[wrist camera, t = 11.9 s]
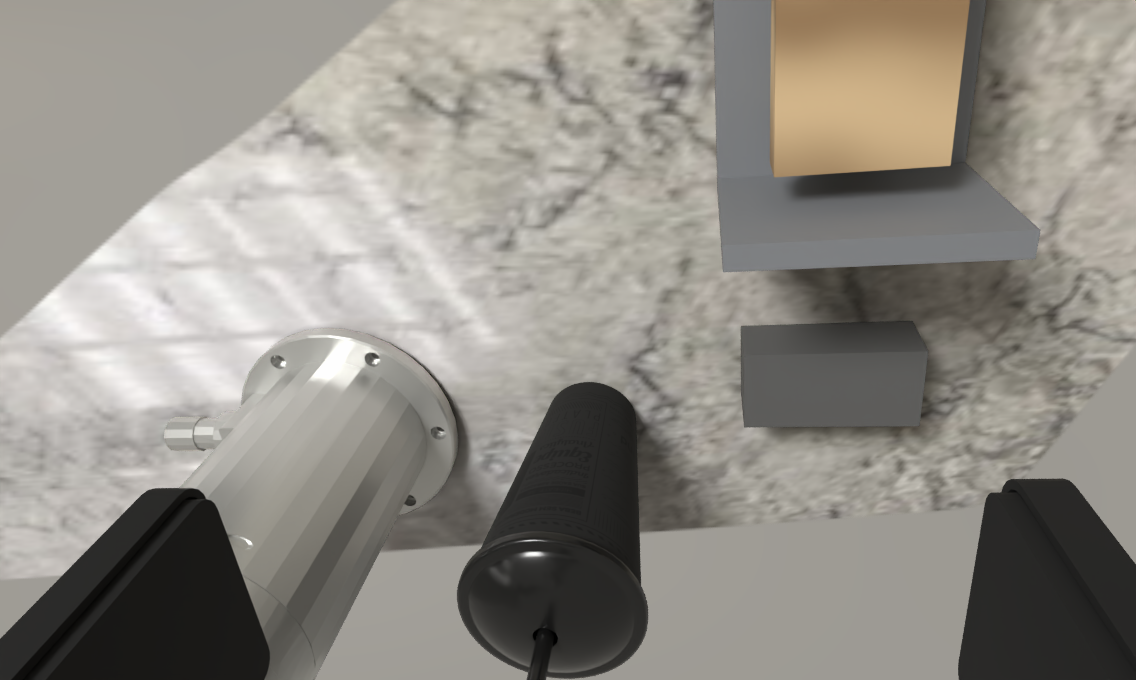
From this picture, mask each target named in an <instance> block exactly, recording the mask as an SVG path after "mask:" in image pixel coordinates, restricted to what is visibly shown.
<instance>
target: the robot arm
mask: <svg viewBox="0 0 1136 680" xmlns="http://www.w3.org/2000/svg"><path fill="white" fill-rule="evenodd" d="M164 439H165V442H166V445H167V446H168V447H169V448H170V449H171V450H174V451H204V450H206V449H215V450H214V451H213V452H212V453H211V454H210V455H209V456H208V457H207V458H206V459H205V460H204V461H203V463H202V464H201V465H200V466H199V467H198V468H197V469H196V470H195V471H194V472H193V473H192V474H191V476H190V477H189V478H188V479H187V480H186V481H185V482H184V483H183V484H182V485H181V486H180V487H179V488H155V489H151V490H148V491H146V492H145V493H144V494H142V495H141V496H140V497H139V498H138V499H137V500H136V501H135V502H134V503H133V504H132V505H131V506H130V507H129V508H128V509H127V510H126V511H125V512H124V513H123V514H122V515H121V516H120V518H119V519H118V520H117V521H116V522H115V523H114V524H113V525H112V526H111V527H110V528H109V529H108V530H107V531H106V532H105V533H104V534H103V535H102V536H101V537H100V538H99V539H98V540H97V541H96V542H95V543H94V544H93V545H92V546H91V547H90V548H89V549H88V550H87V551H86V552H85V553H84V554H83V555H82V556H81V557H80V558H79V559H78V560H77V561H76V562H75V563H74V564H73V565H72V566H71V567H70V568H69V569H68V570H67V571H66V572H65V573H64V575H63V576H62V577H61V578H60V579H59V580H58V581H57V582H56V583H55V584H54V585H53V586H52V587H51V588H50V589H49V590H48V591H47V592H46V593H45V594H44V595H43V596H42V597H41V598H40V599H39V600H38V601H37V602H36V603H35V604H34V605H33V606H32V607H31V608H30V609H29V610H28V611H27V612H26V613H25V614H24V615H23V616H22V617H21V618H20V619H19V620H18V621H17V622H16V623H15V624H14V625H13V626H12V628H11V629H10V630H8V632H7V633H6V634H5V635H4V636H3V637H2V638H1V639H0V680H315V677H316V676H317V674H318V672H319V670H320V668H321V666H322V664H323V662H324V660H325V658H326V656H327V654H328V652H329V650H330V648H331V646H332V644H333V642H334V640H335V638H336V637H337V635H338V633H339V631H340V629H341V627H342V625H343V623H344V621H345V619H346V617H347V615H348V613H349V611H350V609H351V607H352V605H353V603H354V601H355V599H356V597H357V595H358V593H359V591H360V589H361V587H362V585H363V584H364V582H365V580H366V578H367V576H368V574H369V572H370V570H371V568H372V566H373V563H374V562H375V560H376V558H377V556H378V554H379V552H380V550H381V548H382V546H383V544H384V542H385V540H386V538H387V536H388V534H389V532H390V531H391V529H392V527H393V525H394V523H395V521H396V519H397V517H398V515H402V514H406V513H409V512H411V511H413V510H415V509H417V508H419V507H422V506H423V505H424V504H426V503H427V502H428V501H430V500H431V499H432V498H433V497H435V495H436V494H437V493H438V492H439V491H440V489H441V488H442V487H443V486H444V484H445V482H446V480H447V478H448V476H449V474H450V472H451V470H452V468H453V465H454V462H455V458H456V455H457V446H458V433H457V427H456V420H455V417H454V415H453V412H452V409H451V407H450V404H449V401H448V400H447V398H446V397H445V395H444V393H443V392H442V390H441V388H440V387H439V385H438V384H437V383H436V381H435V380H434V379H433V378H432V377H431V376H430V375H429V373H428V372H427V371H426V370H425V369H424V368H423V367H422V366H421V365H420V364H418V363H417V362H416V361H415V360H414V359H412V358H411V357H410V356H409V355H408V354H406V353H404V352H403V351H401V350H399V349H398V348H396V347H394V346H393V345H391V344H389V343H388V342H385V341H383V340H380V339H378V338H375V337H373V336H370V335H368V334H364V333H360V332H356V331H351V330H347V329H334V328H320V329H312V330H305V331H302V332H299V333H296V334H293V335H290V336H287V337H286V338H284V339H282V340H281V341H279V342H278V343H276V344H274V345H273V346H272V347H271V348H270V349H269V350H268V351H267V352H266V353H264V354H263V355H262V356H261V357H260V358H259V359H258V361H257V362H256V363H255V365H254V366H253V367H252V369H251V370H250V371H249V374H248V376H247V379H246V381H245V384H244V386H243V392H242V400H241V407H240V408H239V409H238V410H237V411H225V412H223V413H222V414H220V415H219V417H218V418H207V417H174V418H172V419H171V420H170V421H169V422H168V423H167V426H166V428H165V435H164ZM958 675H959V680H1136V564H1135V563H1134V562H1133V560H1132V559H1131V558H1130V557H1129V555H1128V554H1127V553H1126V551H1125V550H1124V549H1123V547H1122V546H1121V545H1120V544H1119V542H1118V541H1117V540H1116V538H1115V537H1114V536H1113V534H1112V533H1111V532H1110V530H1109V529H1108V528H1107V527H1106V525H1105V524H1104V523H1103V521H1102V520H1101V519H1100V517H1099V516H1098V515H1097V514H1096V512H1095V511H1094V510H1093V508H1092V507H1091V506H1090V504H1089V503H1088V502H1087V501H1086V499H1085V498H1084V497H1083V495H1082V494H1081V493H1080V491H1079V490H1078V489H1077V488H1076V486H1075V485H1074V484H1073V483H1072V482H1070V481H1069V480H1066V479H1011V480H1008V481H1007V482H1006V483H1005V485H1004V486H1003V489H1002V493H990V494H989V495H988V497H987V498H986V502H985V507H984V513H983V519H982V525H981V531H980V538H979V543H978V549H977V555H976V561H975V567H974V573H973V579H972V585H971V591H970V597H969V603H968V609H967V615H966V621H965V627H964V633H963V639H962V645H961V651H960V657H959V665H958Z"/></svg>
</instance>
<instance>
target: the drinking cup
mask: <svg viewBox="0 0 1136 680" xmlns="http://www.w3.org/2000/svg"><path fill="white" fill-rule="evenodd" d="M457 602H458V608H459V612H460V615H461V618H462V620H463V622H464V624H465V626H466V628H467V629H468V631H469V632H470V634H471V635H472V636H473V637H474V639H475V640H476V641H477V642H478V643H479V644H480V645H481V646H482V647H483V648H484V649H486V650H487V651H488V652H489V653H491V654H492V655H493V656H495V657H496V658H498V659H500V660H501V661H503V662H505V663H507V664H508V665H511V666H513V667H515V668H517V669H520V670H523V671H525V672H528V677H527V680H546V677H552V678H564V679H567V678H568V679H572V678H585V677H590V676H595V675H599V674H602V673H605V672H608V671H610V670H612V669H614V668H616V667H618V666H620V665H621V664H623V663H624V662H625V661H627V660H628V659H629V658H630V657H631V656H632V655H633V654H634V653H635V652H636V651H637V649H638V648H639V646H640V645H641V643H642V641H643V639H644V637H645V634H646V631H647V624H648V606H647V600H646V597H645V594H644V592H643V589H642V587H641V572H640V537H639V504H638V470H637V437H636V417H635V413H634V410H633V408H632V406H631V404H630V403H629V401H628V400H627V399H626V398H625V397H624V396H623V395H622V394H621V393H620V392H618V391H617V390H615V389H614V388H612V387H609V386H607V385H604V384H600V383H594V382H584V383H578V384H574V385H571V386H569V387H567V388H565V389H564V390H562V391H561V392H560V393H559V394H558V395H557V396H556V397H555V398H554V400H553V401H552V403H551V405H550V407H549V409H548V412H547V414H546V416H545V418H544V420H543V422H542V424H541V426H540V428H539V430H538V432H537V434H536V436H535V438H534V440H533V442H532V444H531V447H530V449H529V451H528V453H527V455H526V457H525V459H524V461H523V463H522V465H521V467H520V469H519V471H518V473H517V475H516V477H515V480H514V482H513V484H512V486H511V488H510V490H509V492H508V494H507V496H506V498H505V500H504V502H503V504H502V506H501V508H500V510H499V512H498V515H497V517H496V519H495V521H494V523H493V525H492V527H491V529H490V531H489V533H488V535H487V537H486V539H485V541H484V543H483V545H482V547H481V549H480V550H479V551H478V552H476V554H475V555H474V556H473V557H472V558H471V559H470V560H469V562H468V563H467V565H466V566H465V568H464V570H463V572H462V575H461V578H460V581H459V584H458V590H457Z"/></svg>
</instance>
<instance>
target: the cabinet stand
mask: <svg viewBox="0 0 1136 680" xmlns="http://www.w3.org/2000/svg"><path fill="white" fill-rule="evenodd" d="M713 5H714V52H715V100H716V147H717V192H718V206H719V221H720V235H721V250H722V265H723V272H741V271H765V270H788V269H812V268H835V267H859V266H882V265H906V264H929V263H953V262H976V261H1000V260H1023V259H1035V258H1036V252H1037V247H1038V241H1039V236H1040V229H1039V228H1038V227H1037V226H1036V225H1034V224H1033V223H1032V222H1031V221H1030V220H1029V219H1028V218H1027V217H1026V216H1024V215H1023V214H1022V213H1021V212H1020V211H1019V210H1018V209H1017V208H1015V207H1014V206H1013V205H1012V204H1011V203H1010V202H1009V201H1008V200H1007V199H1005V198H1004V197H1003V196H1002V195H1001V194H1000V193H999V192H998V191H996V190H995V189H994V188H993V187H992V186H991V185H990V184H989V183H988V182H986V181H985V180H984V179H983V178H982V177H981V176H980V175H979V174H977V173H976V172H975V171H974V170H973V169H972V168H971V167H970V166H969V165H967V164H966V163H965V162H966V154H967V147H968V139H969V131H970V123H971V115H972V108H973V100H974V92H975V84H976V77H977V69H978V61H979V53H980V45H981V38H982V30H983V22H984V14H985V7H986V0H970V4H969V13H968V21H967V30H966V38H965V47H964V55H963V64H962V72H961V81H960V89H959V98H958V106H957V115H956V123H955V132H954V140H953V149H952V157H951V166H940V167H924V168H909V169H894V170H879V171H864V172H848V173H833V174H818V175H803V176H788V177H774V175H773V172H772V169H771V165H770V76H771V0H713Z"/></svg>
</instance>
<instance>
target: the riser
mask: <svg viewBox="0 0 1136 680" xmlns="http://www.w3.org/2000/svg"><path fill="white" fill-rule="evenodd" d="M927 359H928V350H927V348H926V346H925V344H924V342H923V340H922V338H921V337H920V335H919V333H918V331H917V329H916V327H915V325H914V323H913V322H912V321H896V322H863V323H829V324H796V325H763V326H741V397H742V408H743V419H744V427H871V426H920V418H921V409H922V401H923V393H924V384H925V376H926V368H927Z"/></svg>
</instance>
